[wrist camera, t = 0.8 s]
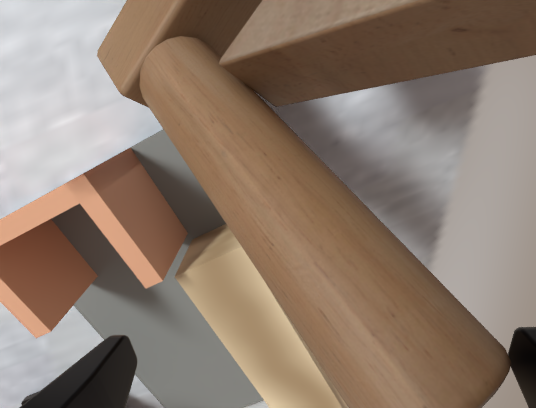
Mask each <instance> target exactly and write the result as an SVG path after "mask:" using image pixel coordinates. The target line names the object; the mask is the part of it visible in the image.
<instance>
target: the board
mask: <svg viewBox="0 0 536 408" xmlns="http://www.w3.org/2000/svg"><path fill="white" fill-rule="evenodd" d="M131 149H132V151H133V152H134V154H135V155H136V157H137V158H138V160H139V161H140V162H141V164H142V165H143V167H144V168H145V170H146V171H147V173H148V174H149V176H150V177H151V179H152V180H153V182H154V183H155V185H156V186H157V188H158V189H159V191H160V192H161V194H162V195H163V197H164V198H165V200H166V201H167V203H168V204H169V206H170V207H171V209H172V210H173V212H174V213H175V215H176V216H177V218H178V219H179V221H180V222H181V224H182V225H183V227H184V228H185V230H186V231H187V233H188V234H187V236H186V238H185V240H184V242H183V244H182V246H181V248H180V249H179V251H178V253H177V255H176V257H175V259H174V261H173V263H172V265H171V267H170V268H169V270H168V272H167V274H166V276H165V278H164V280H163V281H162V282H160V283H157V284H155V285H153V286H151V287H148V288H145V287H144V286H143V284H142V283H141V282H140V280H139V279H138V278H137V277H136V275H135V274H134V273H133V271H132V270H131V269H130V268H129V266H128V265H127V264H126V262H125V261H124V260H123V259H122V257H121V256H120V255H119V253H118V252H117V251H116V250H115V248H114V247H113V246H112V244H111V243H110V242H109V240H108V239H107V238H106V237H105V235H104V234H103V233H102V231H101V230H100V229H99V228H98V226H97V225H96V224H95V222H94V221H93V220H92V219H91V217H90V216H89V215H88V213H87V212H86V211H85V209H84V208H83V207H82V206H81V204H80V203H79V204H78V205H76V206H74V207H72V208H70V209H68V210H66V211H64V212H63V213H61V214H59V215H57V216H55V217H53V218H51V220H52V221H53V222H54V223H55V225H56V226H57V227H58V228H59V229H60V231H61V232H62V233H63V234H64V235H65V237H66V238H67V239H68V240H69V242H70V243H71V244H72V245H73V246H74V248H75V249H76V250H77V251H78V252H79V254H80V255H81V256H82V257H83V259H84V260H85V261H86V262H87V263H88V265H89V266H90V267H91V268H92V269H93V271H94V272H95V273H96V274H97V276H98V277H97V278H96V279H95V280H94V281H93V283H92V284H91V285H90V286H89V287H88V288H87V290H86V291H85V292H84V293H83V294H82V295H81V297H80V298H79V299H78V300H77V301H76V303H75V304H74V306H75V307H76V309H77V310H78V311H79V312H80V313H81V314H82V315H83V316H84V318H85V319H86V320H87V321H88V322H89V323H90V324H91V325H92V327H93V328H94V329H95V330H96V331H97V332H98V333H99V334H100V336H101V337H102V338H103V339H104V340H105V339H106V338H108V337H109V336H112V335H126V336H128V337H129V339H130V341H131V344H132V346H133V349H134V351H135V353H136V356H137V368H136V371H135V375H136V376H137V377H138V378H139V379H140V381H141V382H142V383H143V384H144V385H145V386H146V387H147V388H148V390H149V391H150V392H151V393H152V394H153V395H154V396H155V397H156V399H157V400H158V401H159V402H160V403H161V404H162V405H163V406H164V408H243V407H246V406H249V405H252V404H255V403H257V402H260V401H263V400H264V399H263V398H262V397H261V395H260V394H259V393H258V391H257V390H256V388H255V387H254V386H253V384H252V383H251V382H250V380H249V379H248V377H247V376H246V375H245V373H244V372H243V371H242V369H241V368H240V366H239V365H238V364H237V362H236V361H235V359H234V358H233V357H232V355H231V354H230V353H229V351H228V350H227V348H226V347H225V346H224V344H223V343H222V342H221V340H220V339H219V337H218V336H217V335H216V333H215V332H214V331H213V329H212V328H211V326H210V325H209V324H208V322H207V321H206V320H205V318H204V317H203V315H202V314H201V313H200V311H199V310H198V309H197V307H196V306H195V304H194V303H193V302H192V300H191V299H190V297H189V296H188V295H187V293H186V292H185V291H184V289H183V288H182V286H181V285H180V284H179V282H178V281H177V280H176V278H175V275H176V273H177V270H178V268H179V266H180V264H181V262H182V260H183V258H184V256H185V254H186V252H187V250H188V248H189V245H190V243H191V241H192V240H193V239H195V238H197V237H199V236H201V235H203V234H205V233H208V232H210V231H212V230H214V229H216V228H218V227H220V226H222V225H225V224H226V222H225V221H224V219H223V218H222V216H221V215H220V213H219V212H218V210H217V209H216V207H215V206H214V204H213V203H212V201H211V200H210V198H209V197H208V195H207V194H206V192H205V191H204V189H203V188H202V186H201V185H200V183H199V182H198V180H197V179H196V177H195V176H194V174H193V173H192V171H191V170H190V168H189V167H188V165H187V164H186V162H185V161H184V159H183V158H182V156H181V155H180V153H179V152H178V150H177V149H176V147H175V146H174V144H173V143H172V141H171V140H170V138H169V137H168V135H167V134H166V132H165V131H164V129H163V130H161V131H159V132H158V133H156V134H154V135H152V136H150V137H149V138H147V139H145V140H143V141H141V142H140V143H138V144H136V145H134V146H132V147H131Z"/></svg>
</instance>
